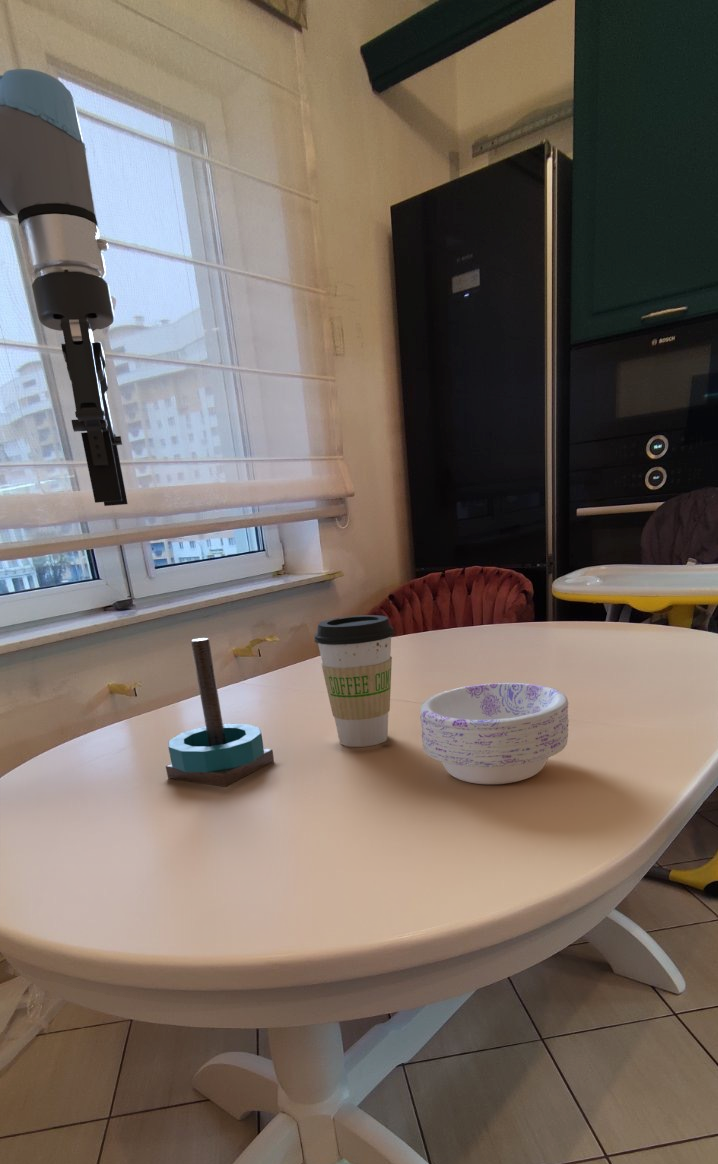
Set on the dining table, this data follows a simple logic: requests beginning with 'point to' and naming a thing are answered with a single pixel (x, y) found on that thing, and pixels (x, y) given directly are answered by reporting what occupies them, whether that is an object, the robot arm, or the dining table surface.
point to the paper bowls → (495, 730)
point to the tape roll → (216, 749)
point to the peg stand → (214, 724)
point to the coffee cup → (357, 676)
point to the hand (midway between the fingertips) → (112, 503)
